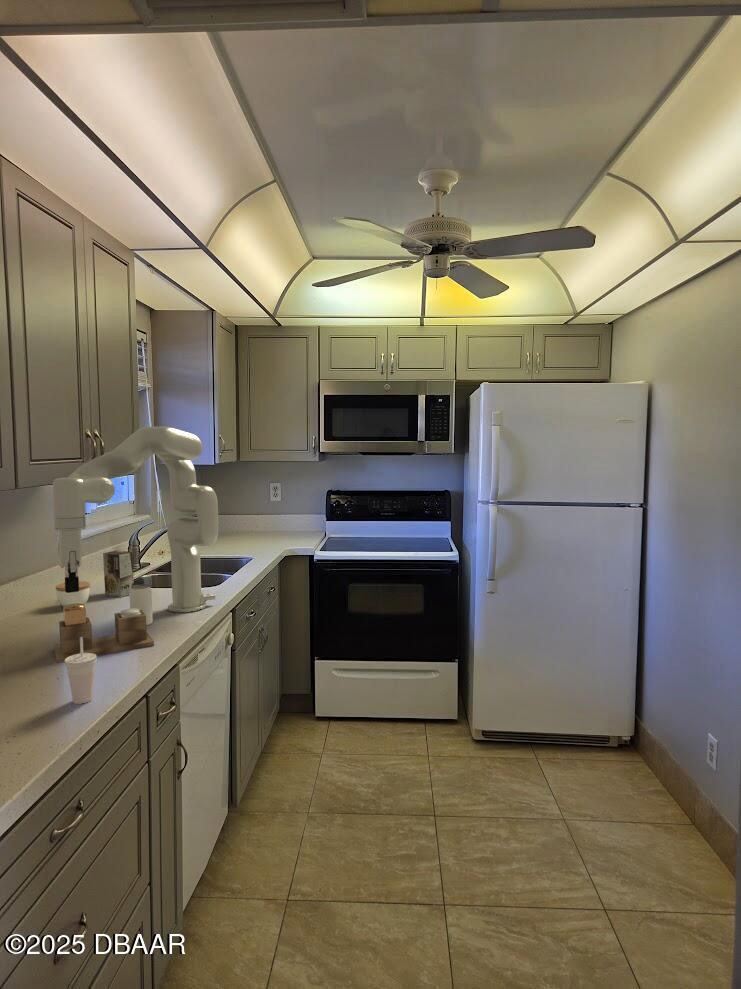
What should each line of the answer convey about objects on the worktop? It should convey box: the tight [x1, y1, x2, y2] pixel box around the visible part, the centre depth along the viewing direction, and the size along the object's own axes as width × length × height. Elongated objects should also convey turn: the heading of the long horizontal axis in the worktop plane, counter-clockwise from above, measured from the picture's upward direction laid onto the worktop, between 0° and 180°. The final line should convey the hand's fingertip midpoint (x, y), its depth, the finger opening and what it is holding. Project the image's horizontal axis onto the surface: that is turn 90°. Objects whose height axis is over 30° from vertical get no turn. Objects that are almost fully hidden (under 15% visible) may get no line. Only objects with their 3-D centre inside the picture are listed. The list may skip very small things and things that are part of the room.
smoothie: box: [64, 637, 98, 705], centre depth 128 cm, size 6×6×14 cm
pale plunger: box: [118, 608, 141, 618], centre depth 166 cm, size 5×5×8 cm
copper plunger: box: [62, 603, 87, 627], centre depth 158 cm, size 5×5×8 cm
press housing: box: [53, 610, 155, 663], centre depth 163 cm, size 24×12×8 cm, turn 122°
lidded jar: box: [55, 580, 91, 607], centre depth 205 cm, size 11×11×9 cm
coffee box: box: [102, 550, 135, 598], centre depth 221 cm, size 9×6×16 cm
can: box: [129, 584, 154, 627], centre depth 184 cm, size 6×6×12 cm
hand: (72, 591), depth 157 cm, fingers closed
